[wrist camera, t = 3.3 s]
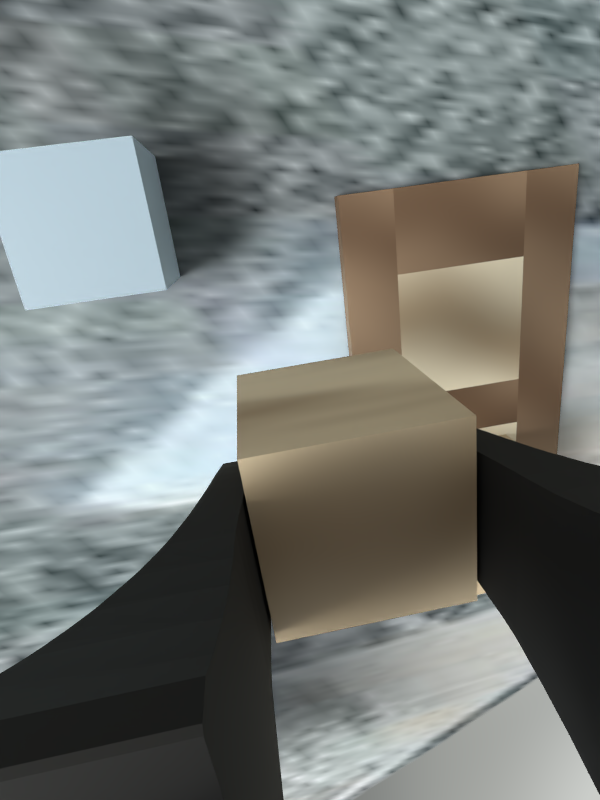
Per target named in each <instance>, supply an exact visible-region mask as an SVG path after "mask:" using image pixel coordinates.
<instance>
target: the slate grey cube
mask: <svg viewBox="0 0 600 800" xmlns="http://www.w3.org/2000/svg"><path fill="white" fill-rule="evenodd" d="M0 236H1V239H2V242H3V245H4V248H5V251H6V254H7V257H8V260H9V263H10V266H11V269H12V272H13V275H14V278H15V281H16V284H17V287H18V290H19V293H20V296H21V299H22V302H23V305H24V308H25V310H31V309H38V308H45V307H52V306H59V305H66V304H72V303H79V302H86V301H93V300H100V299H107V298H114V297H121V296H128V295H135V294H142V293H148V292H155V291H162V290H167V289H168V288H169V287H170V286H171V285H172V284H173V283H174V282H175V281H176V280H177V279H179V278H180V272H179V268H178V263H177V258H176V254H175V249H174V244H173V239H172V235H171V230H170V225H169V220H168V216H167V211H166V206H165V202H164V197H163V192H162V187H161V183H160V178H159V173H158V169H157V164H156V159H155V156H154V155H153V154H152V153H151V152H150V151H149V150H147V149H146V148H145V147H144V146H143V145H142V144H141V143H140V142H139V141H137V140H136V139H135V138H134V137H133V136H123V137H115V138H106V139H98V140H90V141H81V142H73V143H64V144H56V145H47V146H39V147H30V148H22V149H13V150H5V151H0Z"/></svg>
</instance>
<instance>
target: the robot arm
mask: <svg viewBox="0 0 600 800" xmlns="http://www.w3.org/2000/svg"><path fill="white" fill-rule="evenodd" d="M476 449H477V581H478V582H479V584H480V585H481V587H482V588H483V589H484V591H485V592H486V594H487V595H488V597H489V598H490V599H491V601H492V602H493V604H494V605H495V607H496V608H497V609H498V611H499V612H500V614H501V615H502V616H503V618H504V619H505V621H506V623H507V624H508V626H509V627H510V629H511V630H512V632H513V633H514V635H515V637H516V638H517V640H518V642H519V644H520V645H521V647H522V649H523V651H524V653H525V654H526V656H527V658H528V660H529V661H530V663H531V665H532V667H533V669H534V670H535V672H536V674H537V676H538V677H539V679H540V681H541V683H542V685H543V686H544V688H545V690H546V692H547V694H548V696H549V698H550V700H551V701H552V703H553V705H554V707H555V709H556V711H557V713H558V714H559V716H560V718H561V720H562V722H563V724H564V726H565V728H566V729H567V731H568V733H569V735H570V737H571V739H572V741H573V743H574V745H575V747H576V749H577V751H578V753H579V755H580V757H581V759H582V761H583V763H584V765H585V767H586V768H587V771H588V773H589V774H590V776H591V779H592V780H593V782H594V785H595V787H596V788H597V790H598V792H599V794H600V466H598V465H594V464H589V463H585V462H582V461H578V460H574V459H571V458H567V457H564V456H560V455H557V454H553V453H550V452H547V451H543V450H540V449H537V448H534V447H531V446H528V445H525V444H522V443H519V442H516V441H513V440H510V439H507V438H504V437H501V436H498V435H495V434H492V433H489V432H486V431H483V430H480V429H477V428H476ZM0 800H283V790H282V781H281V771H280V762H279V752H278V743H277V733H276V723H275V713H274V703H273V693H272V675H271V615H270V610H269V606H268V601H267V596H266V592H265V587H264V582H263V578H262V573H261V568H260V564H259V559H258V554H257V550H256V545H255V540H254V536H253V531H252V526H251V522H250V517H249V512H248V508H247V503H246V498H245V494H244V489H243V484H242V480H241V475H240V470H239V466H238V461H236V462H231V463H225V464H223V465H222V466H221V468H220V469H219V471H218V472H217V474H216V475H215V477H214V478H213V480H212V482H211V483H210V485H209V486H208V488H207V490H206V491H205V493H204V494H203V496H202V497H201V499H200V500H199V501H198V503H197V504H196V506H195V507H194V509H193V510H192V511H191V513H190V514H189V516H188V517H187V518H186V520H185V521H184V522H183V523H182V525H181V526H180V527H179V528H178V530H177V531H176V532H175V533H174V535H173V536H172V537H171V538H170V540H169V541H168V542H167V543H166V544H165V545H164V546H163V547H162V548H161V549H160V551H159V552H158V553H157V554H156V555H155V556H154V557H153V558H152V559H151V560H150V561H149V562H148V563H147V564H146V565H145V566H144V567H143V568H142V569H141V570H140V571H139V572H138V573H136V574H135V575H134V576H133V577H132V578H131V579H130V580H129V581H127V582H126V583H125V584H124V585H123V586H122V587H120V588H119V589H118V590H117V591H116V592H115V593H113V594H112V595H111V596H110V597H109V598H107V599H106V600H105V601H104V602H103V603H102V604H100V605H99V606H98V607H97V608H96V609H94V610H93V611H92V612H90V613H89V614H88V615H86V616H85V617H84V618H82V619H81V620H80V621H78V622H77V623H76V624H74V625H73V626H72V627H70V628H69V629H68V630H66V631H65V632H63V633H62V634H60V635H59V636H58V637H56V638H55V639H53V640H52V641H50V642H49V643H48V644H46V645H45V646H43V647H42V648H40V649H39V650H37V651H36V652H34V653H33V654H31V655H30V656H28V657H27V658H25V659H23V660H22V661H20V662H18V663H17V664H15V665H14V666H12V667H10V668H9V669H7V670H5V671H4V672H2V673H0Z"/></svg>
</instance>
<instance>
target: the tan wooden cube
mask: <svg viewBox="0 0 600 800" xmlns="http://www.w3.org/2000/svg"><path fill="white" fill-rule="evenodd" d="M237 461H238V466H239V470H240V475H241V480H242V484H243V489H244V494H245V498H246V503H247V508H248V512H249V517H250V522H251V526H252V531H253V536H254V540H255V545H256V550H257V554H258V559H259V564H260V568H261V573H262V578H263V582H264V587H265V592H266V596H267V601H268V606H269V610H270V615H271V620H272V624H273V629H274V634H275V639H276V643H280V642H284V641H289V640H294V639H299V638H303V637H308V636H313V635H318V634H322V633H327V632H332V631H336V630H341V629H346V628H351V627H355V626H360V625H365V624H370V623H374V622H379V621H384V620H388V619H393V618H398V617H403V616H407V615H412V614H417V613H422V612H426V611H431V610H436V609H440V608H445V607H450V606H455V605H459V604H464V603H469V602H474V601H477V449H476V415H475V414H474V413H473V412H471V411H470V410H469V409H468V408H466V407H465V406H464V405H463V404H461V403H460V402H459V401H458V400H456V399H455V398H454V397H453V396H451V395H450V394H449V393H448V392H446V391H445V390H444V389H443V388H441V387H440V386H439V385H438V384H436V383H435V382H434V381H433V380H431V379H430V378H429V377H428V376H426V375H425V374H424V373H423V372H422V371H420V370H419V369H418V368H417V367H415V366H414V365H413V364H412V363H410V362H409V361H408V360H407V359H405V358H404V357H403V356H402V355H400V354H399V353H398V352H397V351H395V350H394V349H388V350H382V351H377V352H371V353H365V354H359V355H353V356H348V357H342V358H336V359H330V360H324V361H319V362H313V363H307V364H301V365H295V366H290V367H284V368H278V369H272V370H266V371H261V372H255V373H249V374H243V375H238V376H237Z"/></svg>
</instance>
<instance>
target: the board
mask: <svg viewBox="0 0 600 800" xmlns="http://www.w3.org/2000/svg"><path fill="white" fill-rule="evenodd" d="M578 170H579V164H572V165H565V166H557V167H550V168H542V169H535V170H527V171H520V172H512V173H505V174H497V175H490V176H482V177H475V178H467V179H460V180H452V181H445V182H437V183H430V184H422V185H415V186H408V187H400V188H393V189H385V190H378V191H370V192H363V193H355V194H348V195H340V196H336V197H335V207H336V218H337V228H338V239H339V250H340V261H341V272H342V282H343V293H344V304H345V315H346V326H347V336H348V347H349V356H353V355H359V354H365V353H371V352H377V351H382V350H388V349H394V350H395V351H397V352H398V353H399V354H400V355H402V356H403V357H404V358H405V359H407V360H408V361H409V362H410V363H412V364H413V365H414V366H415V367H417V368H418V369H419V370H420V371H422V372H423V373H424V374H425V375H426V376H428V377H429V378H430V379H431V380H433V381H434V382H435V383H436V384H438V385H439V386H440V387H441V388H443V389H444V390H445V391H446V392H448V393H449V394H450V395H451V396H453V397H454V398H455V399H456V400H458V401H459V402H460V403H461V404H463V405H464V406H465V407H466V408H468V409H469V410H470V411H471V412H473V413H474V414H475V415H476V428H477V429H480V430H483V431H486V432H489V433H492V434H495V435H504V434H506V435H507V436H509V437H510V438H511V439H513V440H514V441H516V442H519V443H522V444H525V445H528V446H531V447H534V448H537V449H540V450H543V451H547V452H550V453H553V454H557V446H558V433H559V419H560V406H561V393H562V380H563V367H564V354H565V341H566V327H567V314H568V301H569V288H570V275H571V262H572V249H573V235H574V222H575V209H576V196H577V183H578Z"/></svg>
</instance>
